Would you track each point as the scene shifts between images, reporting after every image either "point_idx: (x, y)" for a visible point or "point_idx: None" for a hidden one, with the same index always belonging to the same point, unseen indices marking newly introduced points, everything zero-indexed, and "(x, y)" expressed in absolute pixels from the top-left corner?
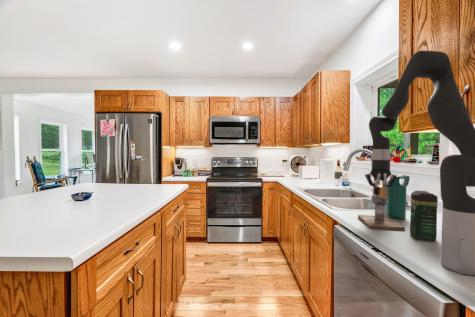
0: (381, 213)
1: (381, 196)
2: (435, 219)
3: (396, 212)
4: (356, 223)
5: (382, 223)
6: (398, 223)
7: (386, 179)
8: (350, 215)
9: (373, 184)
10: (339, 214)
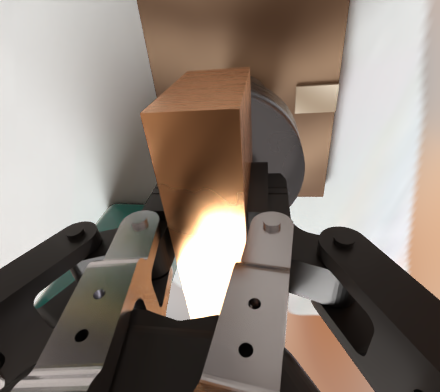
0: None
1: (241, 72)
2: None
3: None
4: (387, 62)
5: (246, 28)
6: (152, 62)
7: (72, 313)
8: (342, 222)
9: (327, 247)
10: (396, 230)
